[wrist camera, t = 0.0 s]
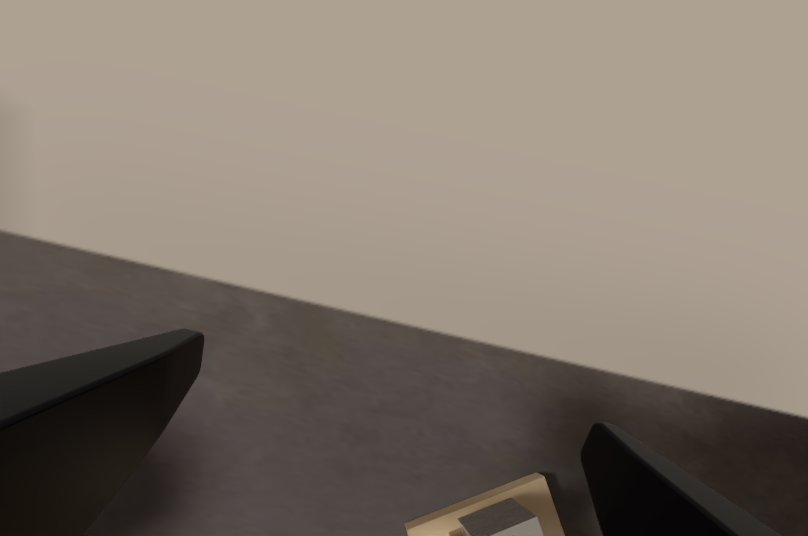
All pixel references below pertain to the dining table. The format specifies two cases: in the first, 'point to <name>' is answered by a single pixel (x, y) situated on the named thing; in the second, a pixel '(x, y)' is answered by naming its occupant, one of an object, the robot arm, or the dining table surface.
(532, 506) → the birch rig board
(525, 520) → the valve and pipe
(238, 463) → the dining table surface
